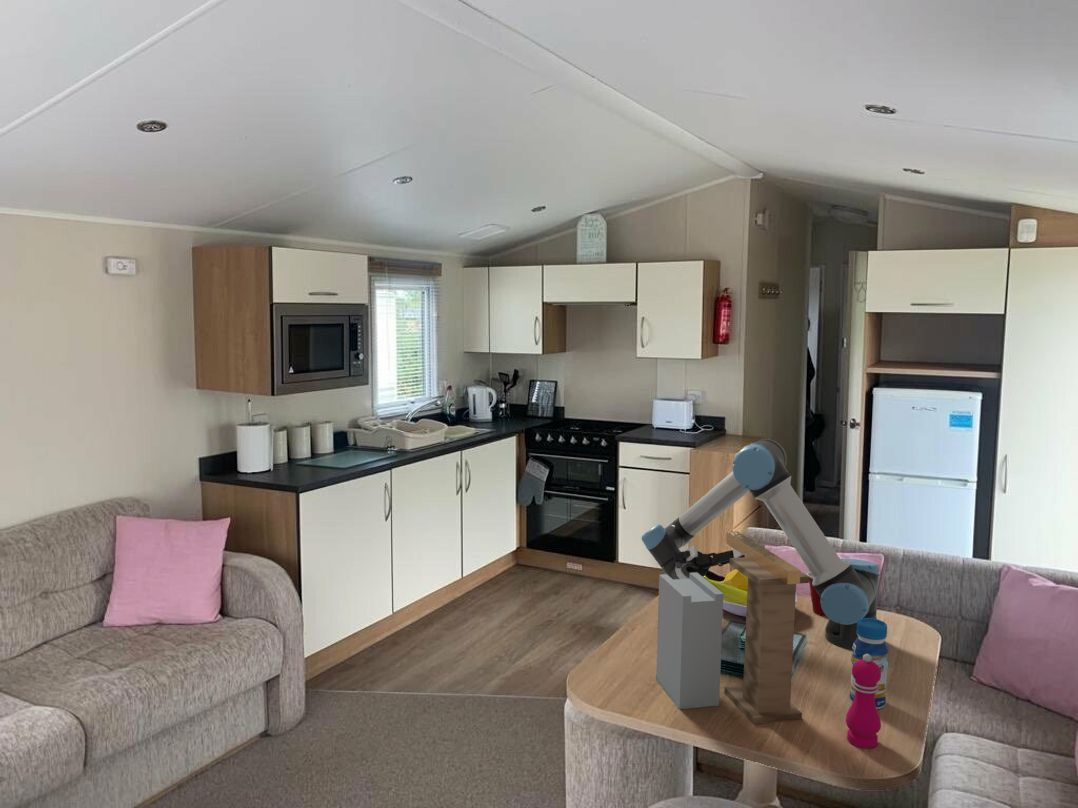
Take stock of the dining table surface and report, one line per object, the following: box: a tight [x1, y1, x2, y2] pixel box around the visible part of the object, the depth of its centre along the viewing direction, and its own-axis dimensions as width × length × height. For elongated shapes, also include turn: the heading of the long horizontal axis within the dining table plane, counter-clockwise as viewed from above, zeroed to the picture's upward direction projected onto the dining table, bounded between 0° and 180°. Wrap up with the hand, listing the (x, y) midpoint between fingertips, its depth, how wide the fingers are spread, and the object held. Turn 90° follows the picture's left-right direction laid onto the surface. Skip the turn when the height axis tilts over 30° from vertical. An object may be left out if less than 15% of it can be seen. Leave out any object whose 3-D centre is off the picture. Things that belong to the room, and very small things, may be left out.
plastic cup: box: [806, 571, 825, 616], centre depth 269 cm, size 11×11×12 cm
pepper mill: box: [845, 654, 882, 749], centre depth 190 cm, size 7×7×20 cm
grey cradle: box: [655, 572, 724, 710], centre depth 212 cm, size 16×10×28 cm, turn 12°
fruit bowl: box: [703, 568, 797, 618], centre depth 270 cm, size 28×27×11 cm
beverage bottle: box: [849, 618, 890, 710], centre depth 208 cm, size 8×8×20 cm
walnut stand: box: [723, 556, 809, 725], centre depth 205 cm, size 16×12×34 cm
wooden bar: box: [725, 531, 802, 585], centre depth 207 cm, size 32×3×3 cm, turn 12°
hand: (720, 548), depth 229 cm, fingers open, 13 cm apart
